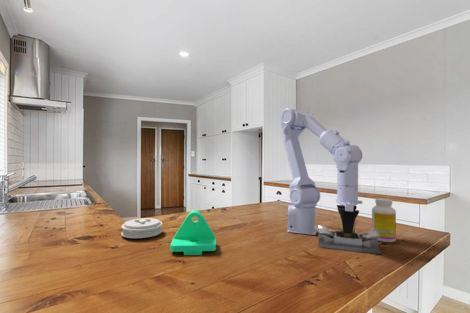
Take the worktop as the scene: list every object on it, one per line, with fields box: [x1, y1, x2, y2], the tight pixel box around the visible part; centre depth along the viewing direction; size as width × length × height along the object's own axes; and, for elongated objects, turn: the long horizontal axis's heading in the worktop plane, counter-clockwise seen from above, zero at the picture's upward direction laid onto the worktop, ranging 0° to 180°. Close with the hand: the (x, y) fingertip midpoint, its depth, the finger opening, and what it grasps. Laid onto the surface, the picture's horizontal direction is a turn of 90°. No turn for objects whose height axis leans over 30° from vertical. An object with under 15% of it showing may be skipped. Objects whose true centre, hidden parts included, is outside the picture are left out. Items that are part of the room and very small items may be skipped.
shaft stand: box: [316, 224, 382, 255], centre depth 76 cm, size 17×10×5 cm, turn 70°
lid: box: [120, 217, 163, 239], centre depth 84 cm, size 13×13×5 cm
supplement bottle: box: [371, 198, 397, 243], centre depth 81 cm, size 7×7×13 cm
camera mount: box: [169, 209, 217, 256], centre depth 70 cm, size 12×8×10 cm, turn 96°
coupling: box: [339, 215, 356, 238], centre depth 76 cm, size 4×4×7 cm
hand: (347, 231), depth 76 cm, fingers closed on coupling, 4 cm apart
